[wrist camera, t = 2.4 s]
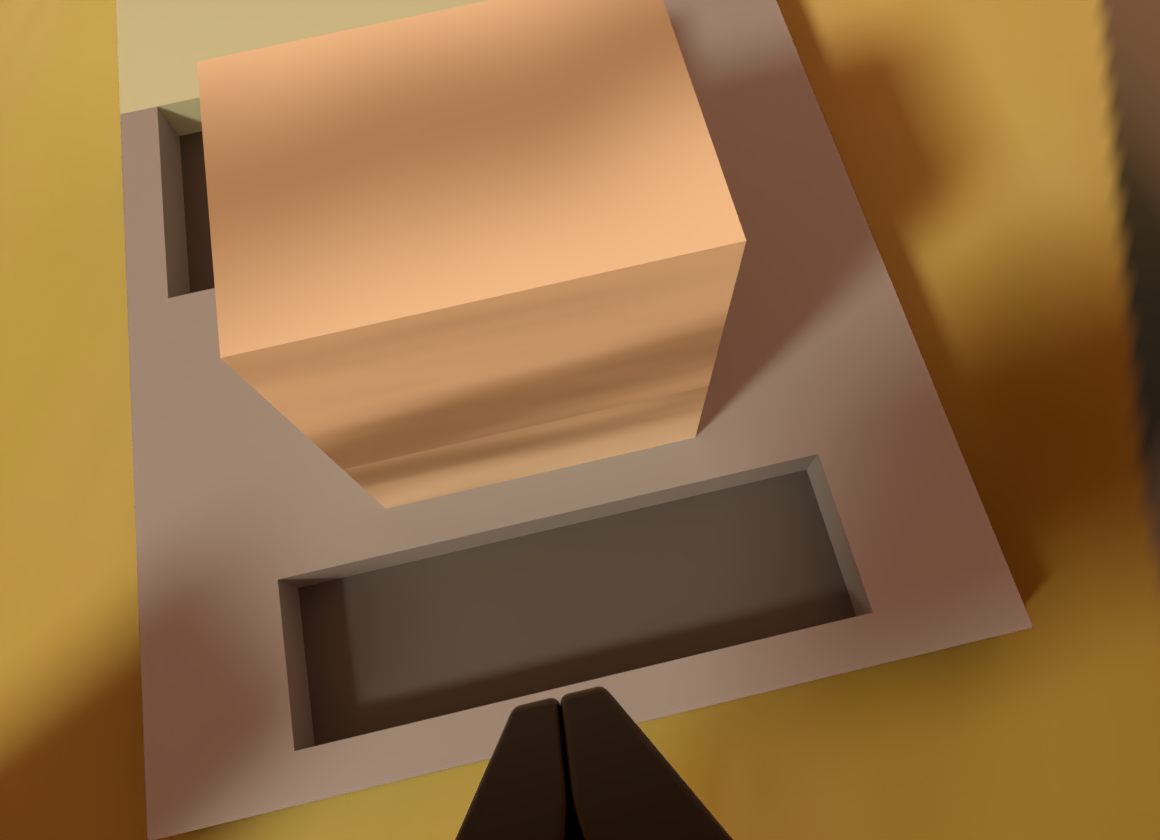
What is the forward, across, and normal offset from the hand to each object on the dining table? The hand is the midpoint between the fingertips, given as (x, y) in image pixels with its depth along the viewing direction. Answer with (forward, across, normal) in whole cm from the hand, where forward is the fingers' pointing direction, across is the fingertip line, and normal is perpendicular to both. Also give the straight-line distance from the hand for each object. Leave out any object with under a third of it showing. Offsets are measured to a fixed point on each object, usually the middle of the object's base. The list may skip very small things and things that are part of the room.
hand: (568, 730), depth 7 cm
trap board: (+14, 0, +2) cm, 14 cm away
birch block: (+14, 0, -1) cm, 14 cm away
